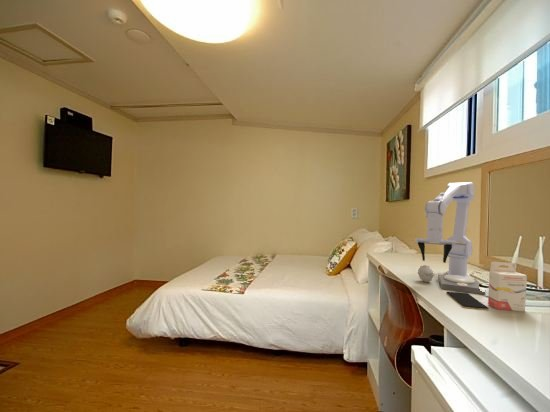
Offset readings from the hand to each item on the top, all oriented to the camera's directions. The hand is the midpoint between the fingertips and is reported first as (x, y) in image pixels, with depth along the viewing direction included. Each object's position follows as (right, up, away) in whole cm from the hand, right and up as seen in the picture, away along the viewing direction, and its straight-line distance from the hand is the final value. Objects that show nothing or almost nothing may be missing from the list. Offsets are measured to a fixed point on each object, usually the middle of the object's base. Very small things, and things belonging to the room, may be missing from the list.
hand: (433, 261), depth 118 cm
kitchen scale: (+9, -10, -3) cm, 14 cm away
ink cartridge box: (+9, -11, -26) cm, 29 cm away
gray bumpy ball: (-2, -10, +3) cm, 10 cm away
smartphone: (0, -11, -20) cm, 23 cm away
